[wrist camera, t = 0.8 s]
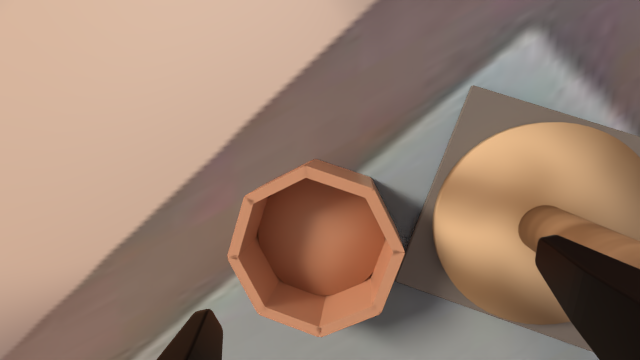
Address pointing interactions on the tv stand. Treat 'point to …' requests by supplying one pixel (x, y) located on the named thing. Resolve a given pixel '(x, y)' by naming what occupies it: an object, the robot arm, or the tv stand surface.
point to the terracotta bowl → (316, 248)
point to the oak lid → (534, 212)
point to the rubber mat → (471, 128)
